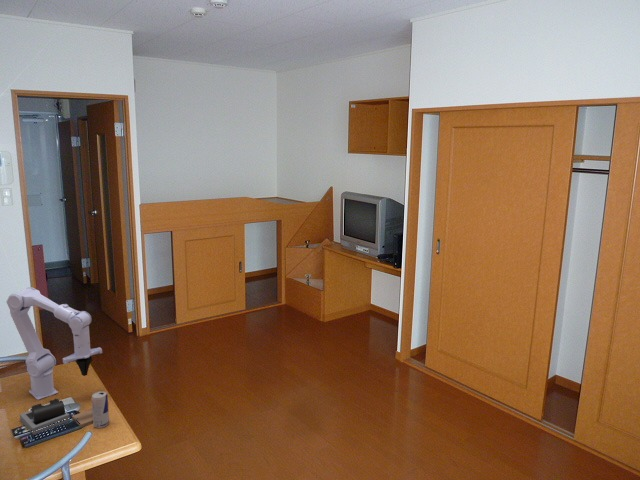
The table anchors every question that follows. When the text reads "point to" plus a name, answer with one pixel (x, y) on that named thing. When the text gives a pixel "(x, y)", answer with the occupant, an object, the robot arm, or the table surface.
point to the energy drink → (100, 409)
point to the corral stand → (31, 426)
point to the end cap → (47, 411)
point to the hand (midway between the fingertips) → (84, 374)
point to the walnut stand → (84, 418)
